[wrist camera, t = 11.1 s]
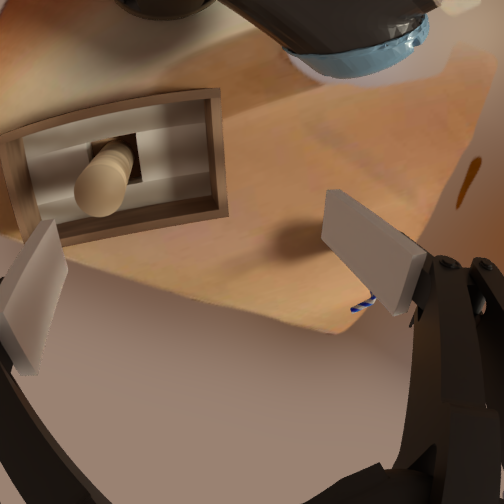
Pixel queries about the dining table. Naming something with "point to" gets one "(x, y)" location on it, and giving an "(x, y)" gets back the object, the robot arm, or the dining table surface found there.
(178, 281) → the dining table surface
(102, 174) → the peg
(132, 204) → the crate
